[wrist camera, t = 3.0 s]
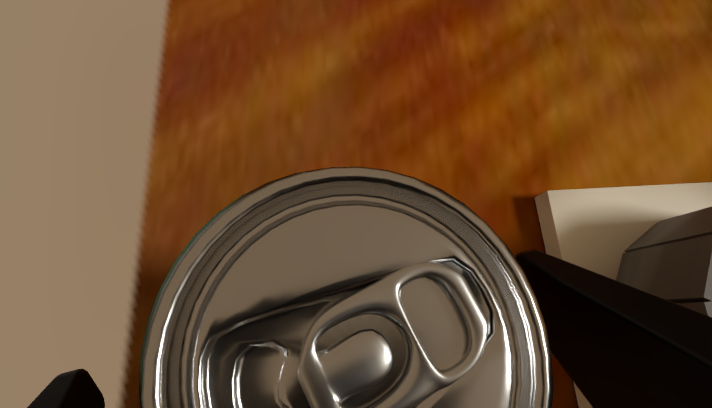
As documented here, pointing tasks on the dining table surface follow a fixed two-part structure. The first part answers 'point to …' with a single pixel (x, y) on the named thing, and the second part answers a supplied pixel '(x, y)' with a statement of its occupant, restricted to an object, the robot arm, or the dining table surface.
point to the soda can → (346, 304)
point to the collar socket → (636, 238)
